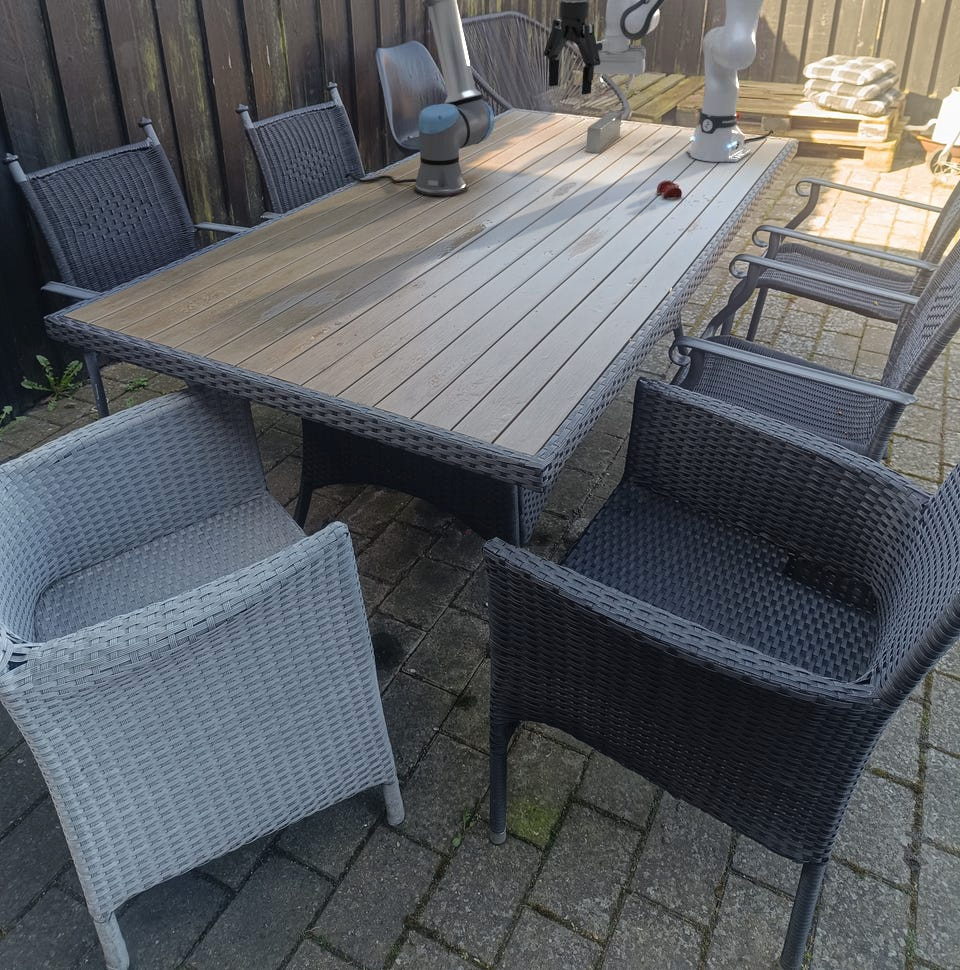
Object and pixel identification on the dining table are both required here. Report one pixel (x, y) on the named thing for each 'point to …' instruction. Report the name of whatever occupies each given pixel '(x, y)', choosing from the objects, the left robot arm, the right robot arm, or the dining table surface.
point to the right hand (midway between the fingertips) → (615, 87)
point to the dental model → (669, 189)
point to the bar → (603, 132)
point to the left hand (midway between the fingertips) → (569, 89)
